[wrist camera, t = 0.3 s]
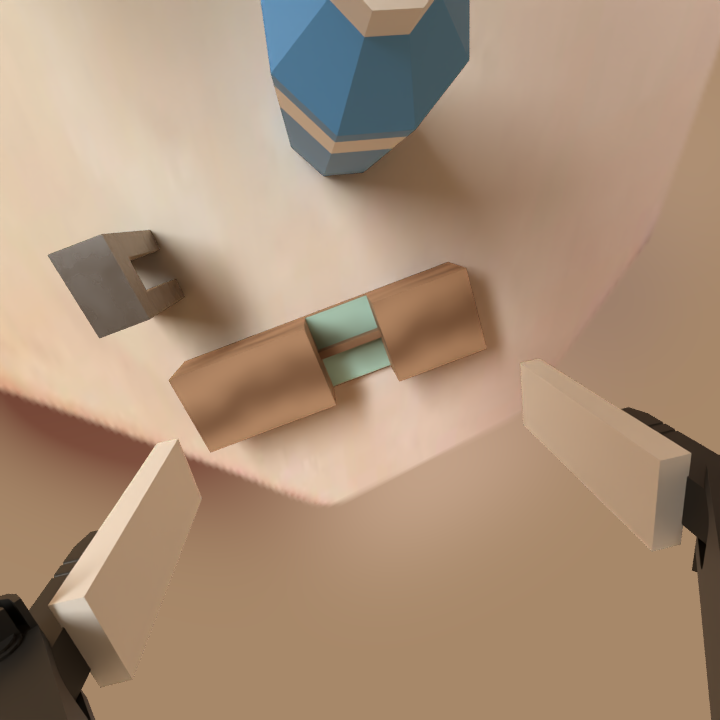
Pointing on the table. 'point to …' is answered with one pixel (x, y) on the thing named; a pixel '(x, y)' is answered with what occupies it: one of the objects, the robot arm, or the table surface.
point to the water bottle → (360, 72)
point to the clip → (113, 280)
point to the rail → (329, 355)
